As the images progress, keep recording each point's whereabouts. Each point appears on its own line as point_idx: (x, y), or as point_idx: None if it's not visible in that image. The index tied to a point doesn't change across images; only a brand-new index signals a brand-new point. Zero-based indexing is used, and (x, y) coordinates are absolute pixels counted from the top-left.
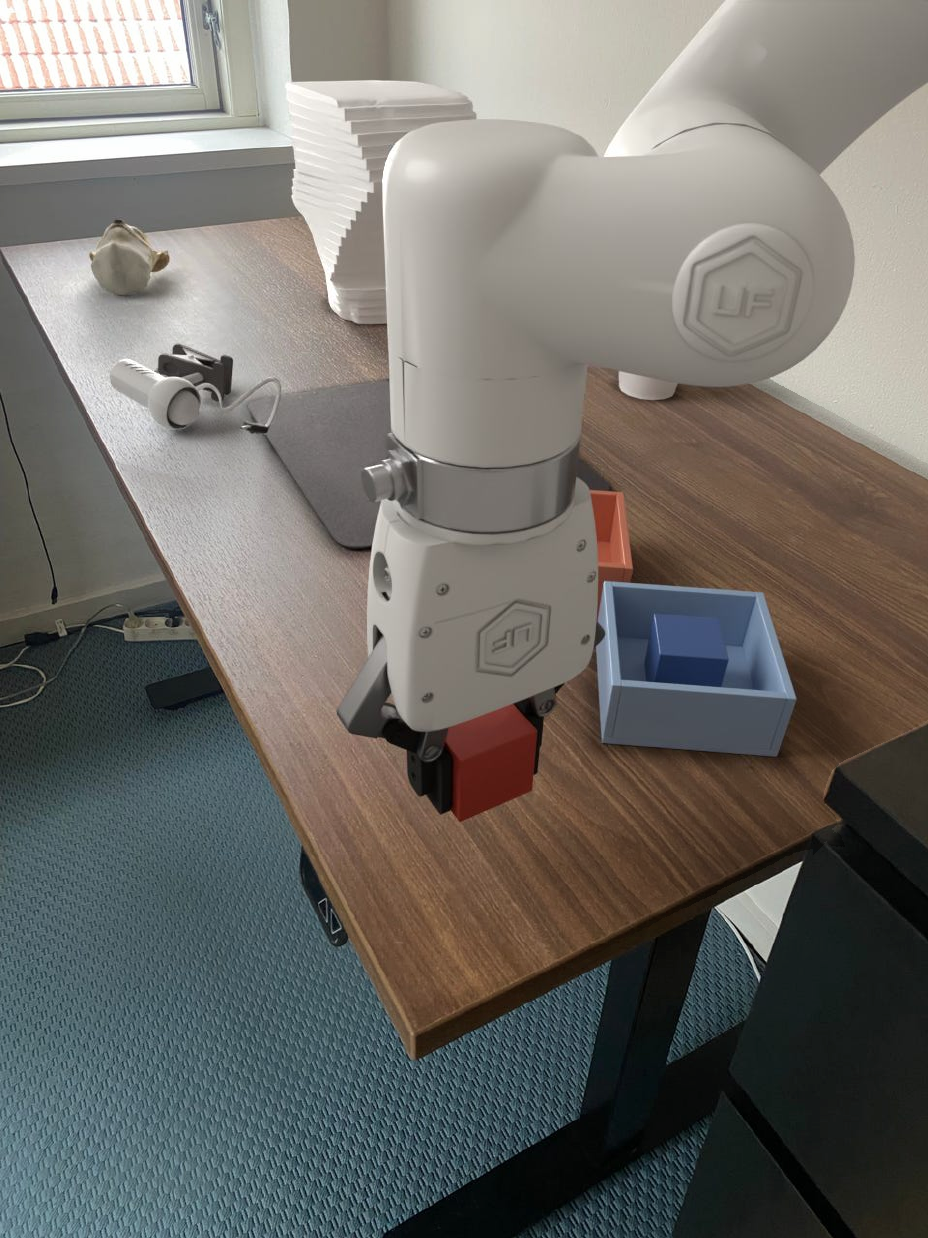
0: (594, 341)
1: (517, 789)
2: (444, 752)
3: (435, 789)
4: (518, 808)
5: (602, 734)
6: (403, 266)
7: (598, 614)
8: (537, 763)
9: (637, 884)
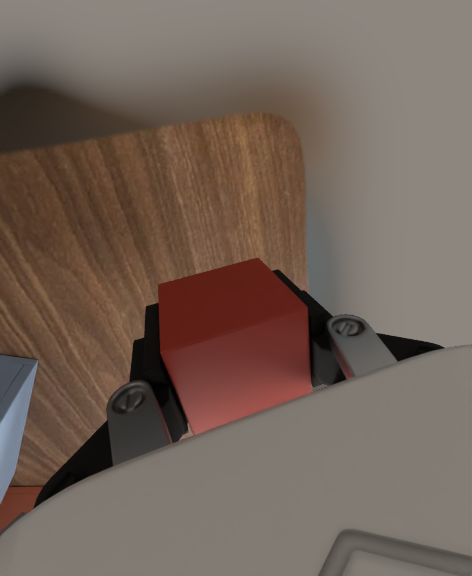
0: None
1: (182, 284)
2: (313, 329)
3: None
4: (146, 300)
5: (34, 368)
6: None
7: (4, 495)
8: (147, 315)
9: (38, 187)
